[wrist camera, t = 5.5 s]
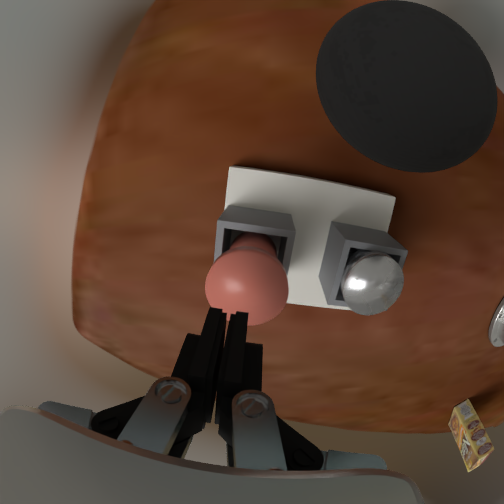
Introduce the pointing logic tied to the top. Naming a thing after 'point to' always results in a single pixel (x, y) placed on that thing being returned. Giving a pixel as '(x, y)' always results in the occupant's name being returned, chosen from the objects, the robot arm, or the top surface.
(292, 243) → the button panel
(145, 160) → the top surface
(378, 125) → the decorative egg
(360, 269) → the steel plunger
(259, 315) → the red plunger
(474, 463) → the candy box
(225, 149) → the top surface
